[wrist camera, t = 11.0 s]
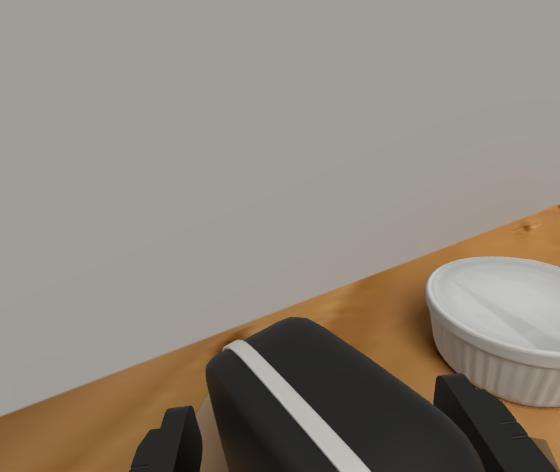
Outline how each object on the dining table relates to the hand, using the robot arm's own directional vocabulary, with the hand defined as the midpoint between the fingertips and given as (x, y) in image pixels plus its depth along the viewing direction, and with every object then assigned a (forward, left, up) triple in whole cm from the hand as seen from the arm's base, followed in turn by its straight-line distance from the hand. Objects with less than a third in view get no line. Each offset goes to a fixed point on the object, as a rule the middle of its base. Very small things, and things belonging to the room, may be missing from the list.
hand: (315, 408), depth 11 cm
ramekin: (+11, +14, -10) cm, 20 cm away
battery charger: (+1, -2, -8) cm, 8 cm away
